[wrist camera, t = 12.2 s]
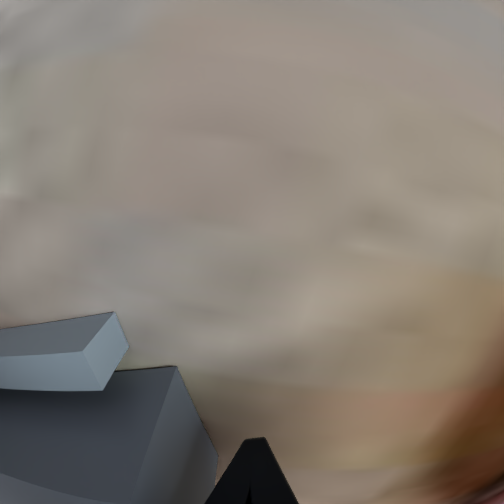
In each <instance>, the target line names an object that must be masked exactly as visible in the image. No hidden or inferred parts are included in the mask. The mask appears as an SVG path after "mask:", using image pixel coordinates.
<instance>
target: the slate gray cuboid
mask: <svg viewBox="0 0 504 504" xmlns="http://www.w3.org/2000/svg"><path fill="white" fill-rule="evenodd" d="M217 462H218V454H217V452H216V450H215V448H214V446H213V444H212V442H211V440H210V438H209V436H208V434H207V432H206V430H205V428H204V426H203V424H202V422H201V420H200V418H199V415H198V413H197V411H196V409H195V407H194V405H193V402H192V400H191V398H190V396H189V393H188V391H187V389H186V387H185V384H184V382H183V380H182V377H181V375H180V373H179V370H178V368H177V366H175V367H166V368H156V369H145V370H133V371H120V372H113V374H112V376H111V377H110V379H109V381H108V382H107V384H106V386H105V388H104V389H103V391H40V390H18V389H3V388H0V504H204V503H205V502H206V500H207V499H208V497H209V495H210V494H211V492H212V491H213V489H214V486H215V478H216V470H217Z"/></svg>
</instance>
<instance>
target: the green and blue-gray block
mask: <svg viewBox="0 0 504 504" xmlns="http://www.w3.org/2000/svg"><path fill="white" fill-rule="evenodd" d="M128 348H129V345H128V343H127V340H126V338H125V336H124V333H123V331H122V328H121V326H120V324H119V321H118V319H117V316H116V314H115V312H111V313H105V314H99V315H93V316H87V317H81V318H74V319H68V320H62V321H55V322H48V323H42V324H35V325H28V326H21V327H13V328H6V329H0V388H3V389H18V390H40V391H103V389H104V388H105V386H106V384H107V382H108V381H109V379H110V377H111V376H112V374H113V372H114V371H115V369H116V367H117V366H118V364H119V362H120V361H121V359H122V357H123V356H124V354H125V352H126V351H127V349H128Z"/></svg>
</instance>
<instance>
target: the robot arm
mask: <svg viewBox="0 0 504 504" xmlns="http://www.w3.org/2000/svg"><path fill="white" fill-rule="evenodd" d="M204 504H299V503H298V501H297V499H296V497H295V495H294V493H293V491H292V490H291V488H290V486H289V484H288V482H287V480H286V478H285V476H284V474H283V472H282V470H281V468H280V466H279V464H278V462H277V460H276V458H275V456H274V454H273V452H272V450H271V448H270V446H269V444H268V442H267V440H266V438H265V437H260V438H252V439H245V440H244V441H243V443H242V444H241V446H240V448H239V449H238V451H237V453H236V454H235V456H234V458H233V459H232V461H231V462H230V464H229V466H228V467H227V469H226V471H225V472H224V474H223V475H222V477H221V478H220V480H219V482H218V483H217V485H216V486H215V488H214V489H213V491H212V492H211V494H210V495H209V497H208V499H207V500H206V502H205V503H204Z"/></svg>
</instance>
